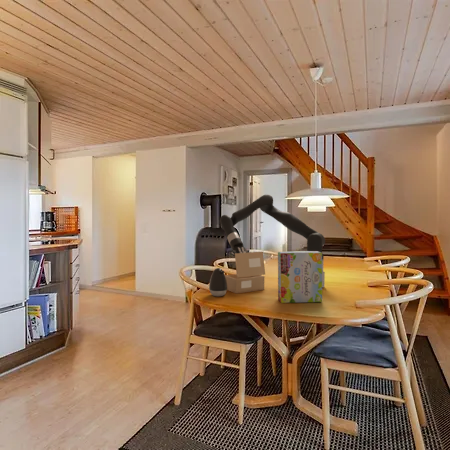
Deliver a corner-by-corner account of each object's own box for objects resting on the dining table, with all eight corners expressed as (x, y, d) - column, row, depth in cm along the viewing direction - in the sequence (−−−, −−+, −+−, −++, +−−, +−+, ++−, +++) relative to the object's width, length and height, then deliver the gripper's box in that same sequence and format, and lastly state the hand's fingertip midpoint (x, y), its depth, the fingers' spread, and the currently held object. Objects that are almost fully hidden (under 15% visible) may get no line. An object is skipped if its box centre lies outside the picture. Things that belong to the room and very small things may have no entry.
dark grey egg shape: (216, 298, 176) (216, 270, 176) (205, 294, 185) (205, 267, 184) (231, 296, 182) (231, 268, 182) (220, 292, 191) (220, 266, 190)
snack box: (317, 298, 177) (318, 250, 177) (322, 303, 169) (323, 252, 168) (277, 298, 177) (277, 250, 176) (280, 303, 168) (280, 252, 167)
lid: (264, 274, 198) (265, 274, 197) (236, 277, 188) (237, 277, 187) (262, 251, 199) (263, 251, 199) (234, 253, 189) (235, 253, 189)
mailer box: (264, 289, 198) (264, 276, 198) (236, 293, 188) (236, 279, 188) (250, 285, 211) (251, 272, 210) (223, 288, 200) (223, 275, 200)
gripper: (228, 237, 202) (239, 260, 192) (246, 237, 208) (257, 258, 198) (223, 245, 206) (234, 268, 196) (241, 244, 213) (252, 266, 203)
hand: (245, 263), depth 197 cm, fingers closed
